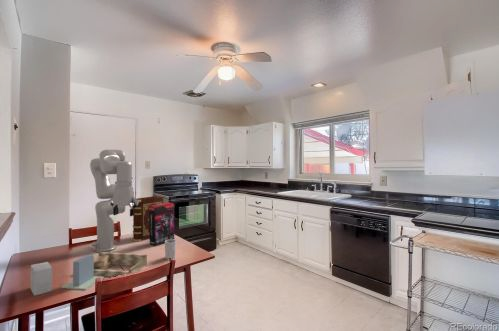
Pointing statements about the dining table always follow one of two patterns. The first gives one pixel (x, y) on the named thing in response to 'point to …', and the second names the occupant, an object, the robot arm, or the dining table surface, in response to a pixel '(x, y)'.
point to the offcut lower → (105, 266)
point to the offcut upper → (100, 261)
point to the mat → (83, 286)
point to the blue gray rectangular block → (83, 270)
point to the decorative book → (143, 217)
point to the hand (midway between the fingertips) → (123, 215)
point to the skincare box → (41, 278)
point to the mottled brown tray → (123, 263)
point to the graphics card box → (161, 223)
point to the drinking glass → (170, 248)
